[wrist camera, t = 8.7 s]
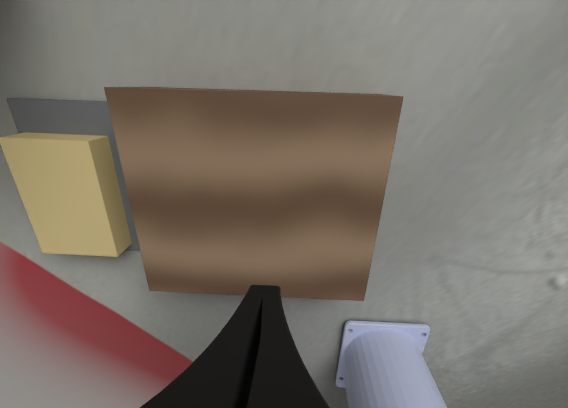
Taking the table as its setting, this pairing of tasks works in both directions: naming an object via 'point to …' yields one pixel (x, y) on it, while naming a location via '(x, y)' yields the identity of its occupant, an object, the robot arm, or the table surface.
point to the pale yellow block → (69, 192)
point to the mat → (74, 132)
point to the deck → (255, 186)
